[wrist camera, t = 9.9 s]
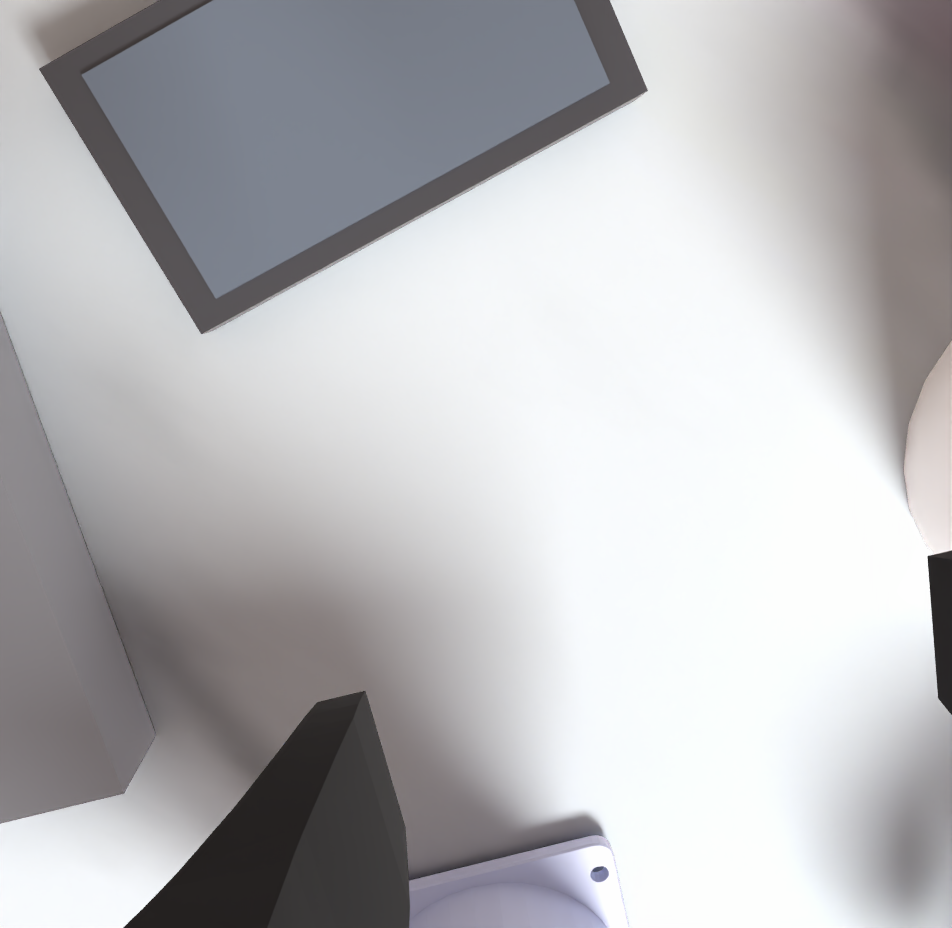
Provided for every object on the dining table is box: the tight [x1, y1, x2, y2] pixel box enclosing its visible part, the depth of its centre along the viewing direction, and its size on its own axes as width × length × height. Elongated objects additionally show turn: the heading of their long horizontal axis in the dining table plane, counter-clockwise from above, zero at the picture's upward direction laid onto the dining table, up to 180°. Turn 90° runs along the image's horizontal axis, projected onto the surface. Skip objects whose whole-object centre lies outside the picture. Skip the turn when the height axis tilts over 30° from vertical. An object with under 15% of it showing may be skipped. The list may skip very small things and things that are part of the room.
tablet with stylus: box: [39, 0, 648, 334], centre depth 17 cm, size 8×13×1 cm, turn 118°
